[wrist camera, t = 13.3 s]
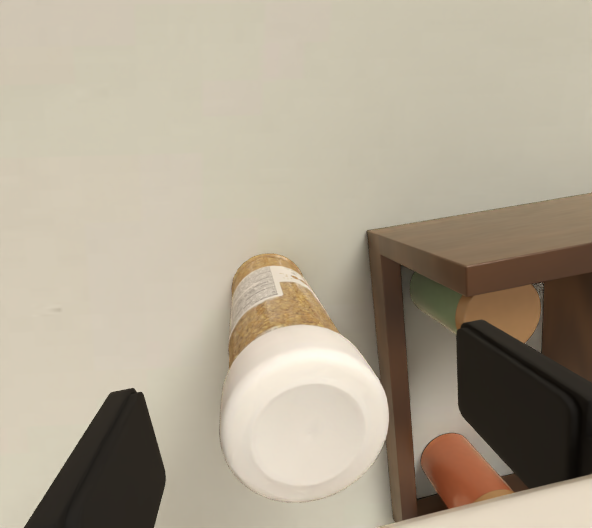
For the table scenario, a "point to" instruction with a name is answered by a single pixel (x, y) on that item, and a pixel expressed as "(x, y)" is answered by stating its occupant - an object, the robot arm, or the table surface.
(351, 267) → the table surface
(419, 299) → the sage jar
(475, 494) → the terracotta jar
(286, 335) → the sprinkles bottle
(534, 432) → the robot arm
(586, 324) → the spice rack
